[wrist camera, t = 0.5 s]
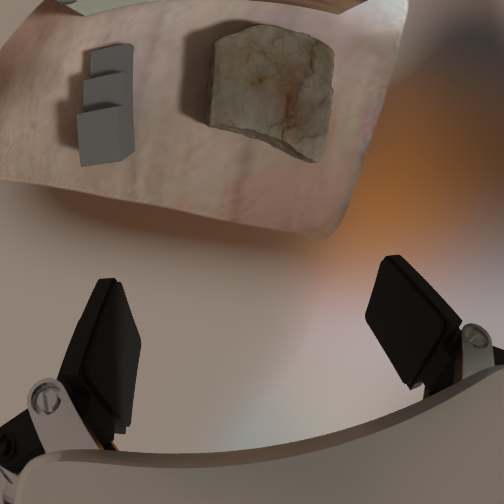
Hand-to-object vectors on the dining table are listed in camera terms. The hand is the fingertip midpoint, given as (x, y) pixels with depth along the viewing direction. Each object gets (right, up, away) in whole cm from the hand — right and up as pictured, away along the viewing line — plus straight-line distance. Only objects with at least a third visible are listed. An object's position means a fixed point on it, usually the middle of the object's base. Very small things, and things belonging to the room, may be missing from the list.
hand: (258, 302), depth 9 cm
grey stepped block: (-17, +20, +17) cm, 32 cm away
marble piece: (+2, +21, +20) cm, 30 cm away
